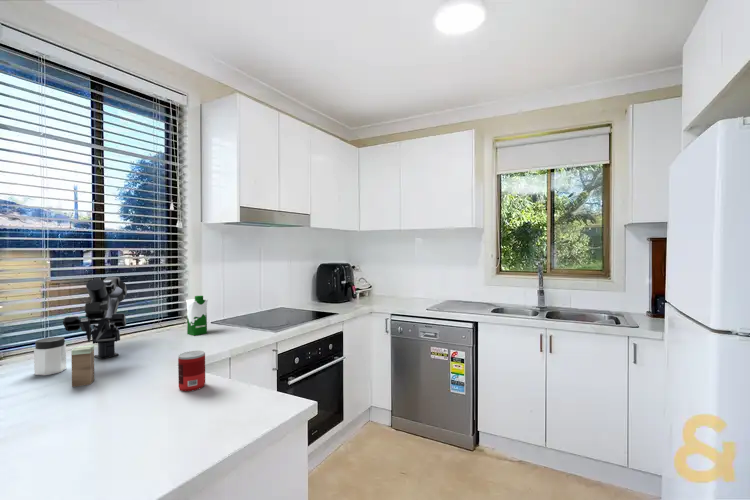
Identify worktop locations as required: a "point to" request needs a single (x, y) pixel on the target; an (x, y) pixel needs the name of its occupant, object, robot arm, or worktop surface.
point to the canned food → (191, 370)
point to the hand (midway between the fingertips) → (91, 341)
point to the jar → (49, 356)
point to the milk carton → (197, 316)
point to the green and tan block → (82, 365)
